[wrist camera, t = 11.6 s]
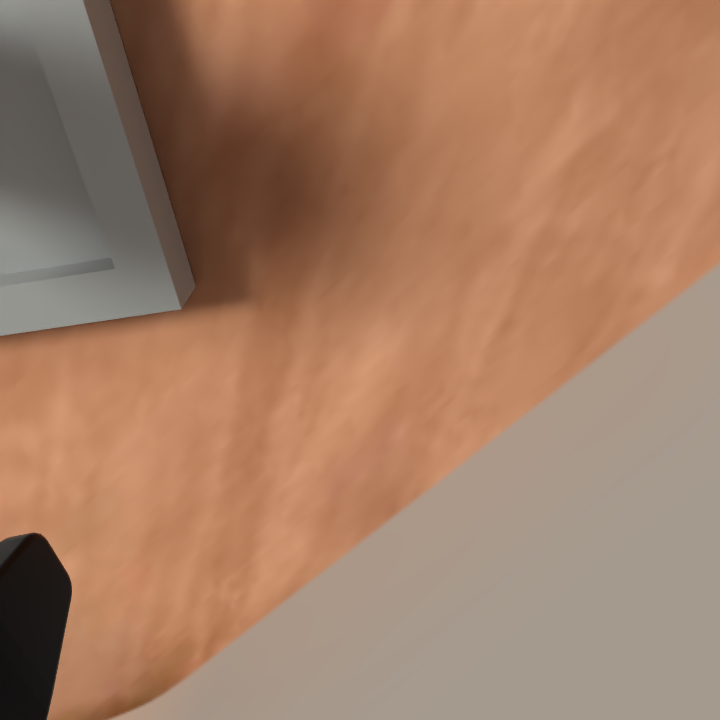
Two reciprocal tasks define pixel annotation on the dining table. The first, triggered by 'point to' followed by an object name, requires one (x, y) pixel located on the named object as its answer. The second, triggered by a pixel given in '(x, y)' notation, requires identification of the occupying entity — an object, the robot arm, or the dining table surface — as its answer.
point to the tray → (78, 176)
